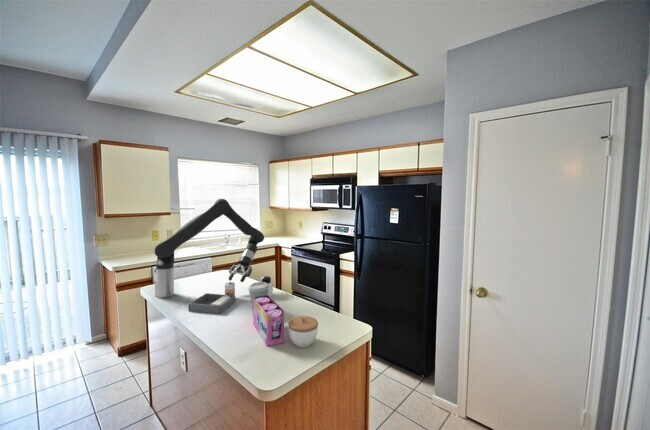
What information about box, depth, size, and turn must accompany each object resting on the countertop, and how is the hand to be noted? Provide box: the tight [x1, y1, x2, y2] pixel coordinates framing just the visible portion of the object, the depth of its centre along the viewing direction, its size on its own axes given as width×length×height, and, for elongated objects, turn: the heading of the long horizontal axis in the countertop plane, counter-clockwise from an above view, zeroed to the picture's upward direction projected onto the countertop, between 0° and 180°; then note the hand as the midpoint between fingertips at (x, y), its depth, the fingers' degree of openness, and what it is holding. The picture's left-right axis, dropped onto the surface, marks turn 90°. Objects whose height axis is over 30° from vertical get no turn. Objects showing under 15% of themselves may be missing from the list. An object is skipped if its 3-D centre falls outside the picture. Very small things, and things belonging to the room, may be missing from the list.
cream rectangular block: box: [211, 296, 231, 306], centre depth 150 cm, size 5×12×4 cm, turn 171°
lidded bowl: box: [288, 315, 319, 348], centre depth 117 cm, size 13×13×11 cm
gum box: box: [252, 295, 285, 347], centre depth 125 cm, size 24×8×14 cm, turn 29°
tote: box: [188, 292, 236, 315], centre depth 151 cm, size 18×16×5 cm
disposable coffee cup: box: [248, 281, 269, 312], centre depth 148 cm, size 11×11×15 cm
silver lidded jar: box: [224, 281, 236, 297], centre depth 163 cm, size 6×6×10 cm
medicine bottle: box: [260, 275, 274, 298], centre depth 171 cm, size 7×7×12 cm
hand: (235, 280), depth 168 cm, fingers open, 8 cm apart
